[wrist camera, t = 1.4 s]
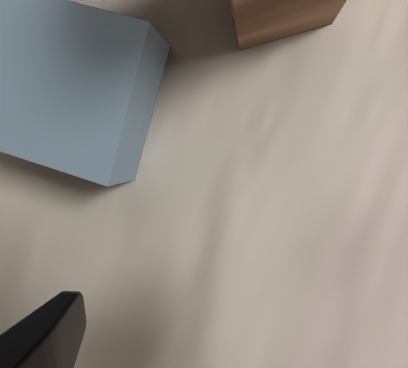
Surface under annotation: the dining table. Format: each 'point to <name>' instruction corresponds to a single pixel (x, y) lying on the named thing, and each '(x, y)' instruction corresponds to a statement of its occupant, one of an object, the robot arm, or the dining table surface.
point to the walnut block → (279, 18)
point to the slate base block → (77, 87)
